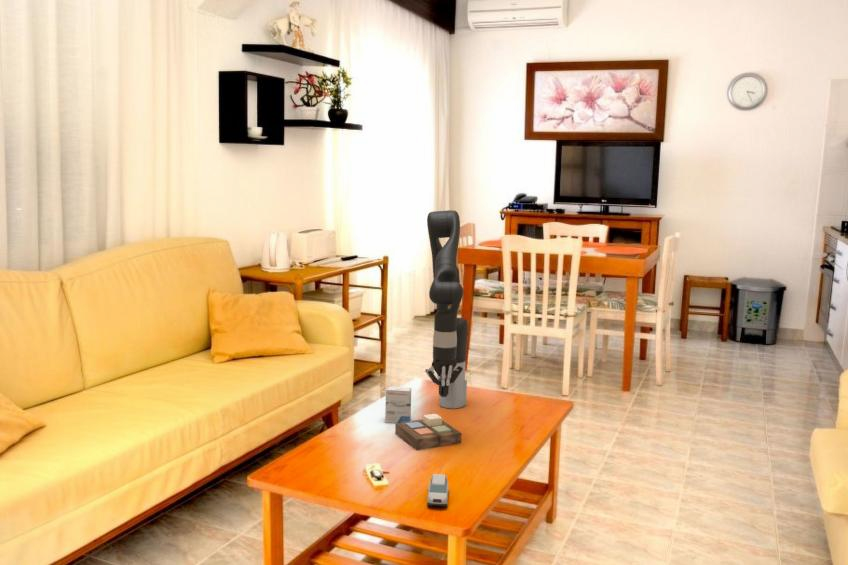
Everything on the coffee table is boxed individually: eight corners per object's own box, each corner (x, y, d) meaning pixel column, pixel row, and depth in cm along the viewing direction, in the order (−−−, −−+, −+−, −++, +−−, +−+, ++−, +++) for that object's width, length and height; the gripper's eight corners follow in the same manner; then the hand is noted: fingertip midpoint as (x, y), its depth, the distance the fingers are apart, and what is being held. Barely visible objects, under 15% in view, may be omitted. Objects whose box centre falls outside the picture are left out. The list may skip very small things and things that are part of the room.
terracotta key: (426, 435, 244) (426, 427, 244) (433, 439, 240) (433, 432, 240) (413, 436, 242) (414, 429, 242) (420, 441, 238) (420, 434, 238)
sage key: (444, 432, 247) (444, 425, 247) (450, 437, 243) (451, 429, 243) (431, 434, 245) (431, 427, 245) (438, 439, 241) (438, 431, 241)
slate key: (418, 428, 250) (418, 421, 250) (424, 433, 246) (424, 425, 246) (405, 430, 248) (405, 423, 248) (411, 435, 244) (411, 427, 244)
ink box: (411, 419, 264) (411, 387, 262) (409, 424, 259) (410, 391, 257) (386, 418, 265) (387, 385, 263) (384, 422, 260) (385, 389, 258)
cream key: (435, 420, 253) (435, 413, 252) (441, 425, 249) (441, 417, 248) (423, 422, 251) (423, 415, 250) (429, 426, 246) (429, 419, 246)
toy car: (425, 509, 195) (426, 491, 194) (428, 489, 208) (428, 471, 207) (448, 511, 195) (448, 492, 194) (449, 490, 207) (449, 472, 207)
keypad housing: (438, 427, 256) (438, 417, 256) (461, 443, 242) (461, 432, 242) (395, 433, 249) (395, 423, 249) (416, 450, 235) (416, 439, 235)
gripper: (457, 339, 246) (455, 390, 249) (420, 343, 240) (419, 395, 243) (468, 344, 239) (467, 397, 242) (431, 348, 233) (430, 402, 236)
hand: (443, 396), depth 242 cm, fingers closed
